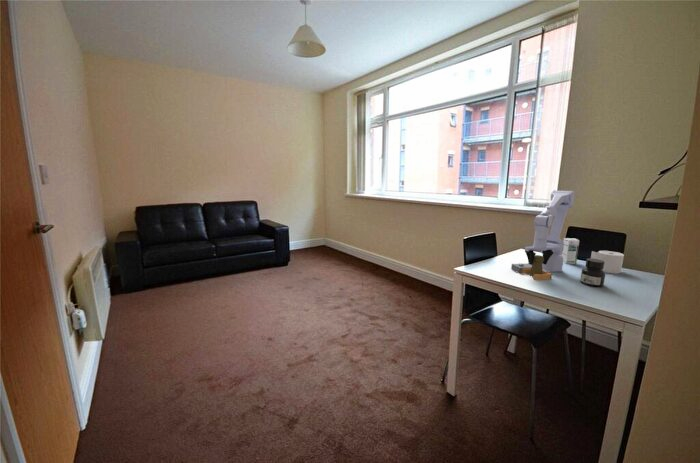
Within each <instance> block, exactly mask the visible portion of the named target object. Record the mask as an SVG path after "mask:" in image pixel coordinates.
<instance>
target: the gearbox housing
mask: <svg viewBox="0 0 700 463" xmlns="http://www.w3.org/2000/svg"><path fill="white" fill-rule="evenodd" d="M531 267H532V265H530V264H529V262H528V263H526V262H525V263H520V262H519V263H511V267H510V269H511V270H512V271H514V270H515V271H514V272H517V273H518V274H523V273H526V274H530V270H531ZM542 271H543V274H534V277H532V280H552V277H553V274H552V272H546V271H544V270H542Z"/></svg>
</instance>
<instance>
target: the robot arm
mask: <svg viewBox="0 0 700 463" xmlns="http://www.w3.org/2000/svg"><path fill="white" fill-rule="evenodd" d="M575 199H576V193H575V191H574V190H555V189H554V190H552V191H551V193H550V203H549V204H548V205H546V206H545V207H544V208H543V210H542V211H541V212H540V214H538V215H536V216H535V217H534V220H533V224H534V227H533V228H534V238H533V244H532V245H529V246H525V247H524V252H525V254H526V257H527V260H528V261H527V262H528V263H529V264H530V265H533V260H534V257H535V255H536V254H537V253H536V252H541V254H542V256H543V257H544V261H543V262H542V270H544V271H546V272H548V273H553V272H554V273H555V272H558V273H559V272H564V270H563V265H564V262H563V257H562V252H563V249H564V242H563V241H564V240H562V239H561V238H560V236H561V234H562V230H563V226H564V223H565V220H566V216H567V213H568V211H569V209H571V208H573V206H574V204H575ZM550 227H551V228H550Z"/></svg>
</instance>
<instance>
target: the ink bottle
mask: <svg viewBox="0 0 700 463" xmlns="http://www.w3.org/2000/svg"><path fill="white" fill-rule="evenodd" d="M604 263H605V261H603V260H599V259H592V258H591V257H590V258H586V261H585V267H583V268H582V269H581V273H580V280H579V282H580V283H581V284H583V285H585V286H589V287H594V288H595V287H596V288H602V287H604V283H605V279H606V272H604V271H603V270H602V269H604Z"/></svg>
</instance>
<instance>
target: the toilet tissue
mask: <svg viewBox="0 0 700 463" xmlns="http://www.w3.org/2000/svg"><path fill="white" fill-rule="evenodd" d="M624 256H625V255H624V253H621V252H618V251H611V250H610V251H609V250H599V251H597V252H596V251H593V250H592V251H591V255H590V258H592V259H599V260H603V261H605V263H604V269H602V270H603V271H604V272H605V274H606V273H608V274H621V273H622V268H623V263H624V262H623V261H624Z"/></svg>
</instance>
